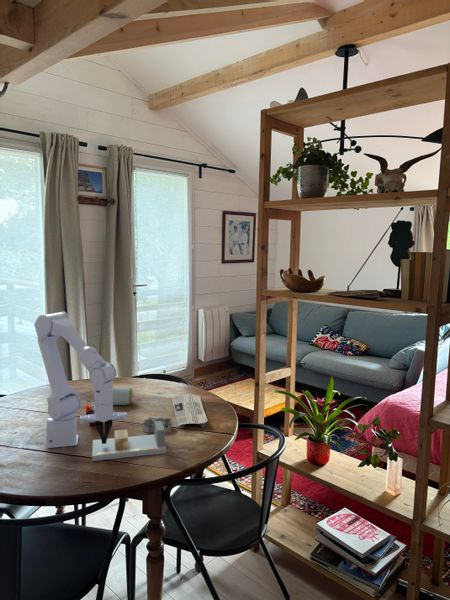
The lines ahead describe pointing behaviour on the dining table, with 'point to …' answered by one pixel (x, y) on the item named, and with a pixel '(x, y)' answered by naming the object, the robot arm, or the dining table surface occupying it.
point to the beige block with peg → (121, 439)
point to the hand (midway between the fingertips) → (104, 442)
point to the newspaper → (188, 410)
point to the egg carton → (149, 424)
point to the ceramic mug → (122, 395)
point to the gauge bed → (132, 445)
